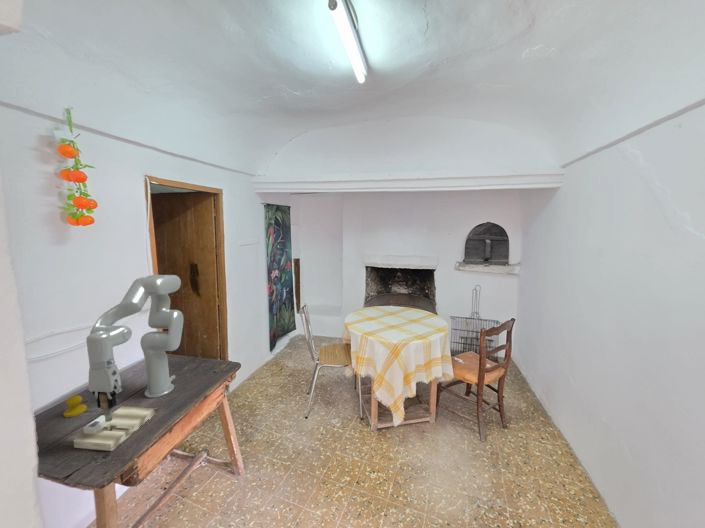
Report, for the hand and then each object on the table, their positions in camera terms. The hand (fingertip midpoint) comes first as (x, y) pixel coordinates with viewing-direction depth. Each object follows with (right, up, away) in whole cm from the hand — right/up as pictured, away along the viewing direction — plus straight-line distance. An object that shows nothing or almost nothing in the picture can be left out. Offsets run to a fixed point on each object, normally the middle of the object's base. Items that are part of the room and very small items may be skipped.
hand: (107, 405), depth 124 cm
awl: (0, -6, +1) cm, 6 cm away
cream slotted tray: (0, -12, +5) cm, 13 cm away
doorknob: (-28, -11, +17) cm, 35 cm away
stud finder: (-5, -10, +2) cm, 11 cm away
